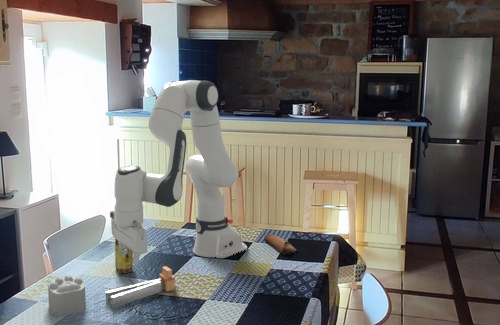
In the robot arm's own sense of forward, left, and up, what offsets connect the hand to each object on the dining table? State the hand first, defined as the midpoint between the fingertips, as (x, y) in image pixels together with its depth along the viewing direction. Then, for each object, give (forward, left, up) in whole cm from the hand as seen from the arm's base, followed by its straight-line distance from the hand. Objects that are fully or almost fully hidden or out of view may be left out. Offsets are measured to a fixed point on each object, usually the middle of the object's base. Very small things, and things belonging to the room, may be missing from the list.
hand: (129, 258), depth 173 cm
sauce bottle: (-7, -22, -14) cm, 27 cm away
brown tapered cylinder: (-72, -11, -14) cm, 74 cm away
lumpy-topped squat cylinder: (+19, -6, -14) cm, 24 cm away
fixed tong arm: (-4, -1, -13) cm, 14 cm away
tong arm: (-2, +2, -13) cm, 14 cm away
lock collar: (-13, 0, -14) cm, 19 cm away
